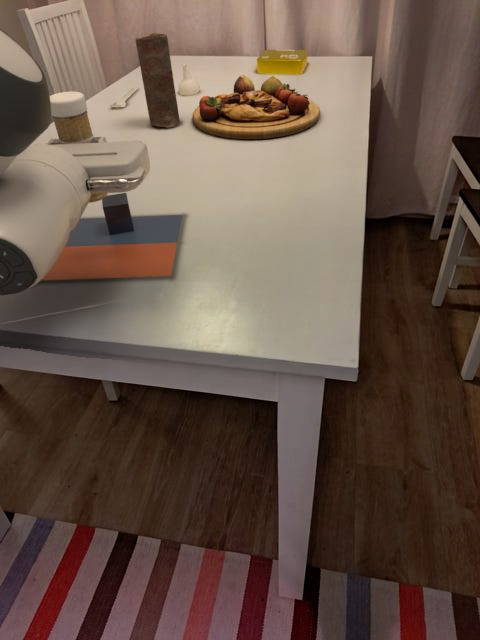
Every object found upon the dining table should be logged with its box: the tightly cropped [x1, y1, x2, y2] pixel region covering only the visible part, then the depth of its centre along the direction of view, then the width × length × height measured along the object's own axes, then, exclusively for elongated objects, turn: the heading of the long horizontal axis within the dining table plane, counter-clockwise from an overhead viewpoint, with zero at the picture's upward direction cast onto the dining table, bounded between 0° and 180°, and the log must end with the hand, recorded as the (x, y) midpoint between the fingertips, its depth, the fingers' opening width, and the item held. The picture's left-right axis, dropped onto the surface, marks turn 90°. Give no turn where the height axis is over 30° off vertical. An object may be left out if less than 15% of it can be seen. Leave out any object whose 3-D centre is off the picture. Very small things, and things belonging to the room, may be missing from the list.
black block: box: [101, 192, 134, 235], centre depth 76 cm, size 4×4×5 cm
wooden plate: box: [192, 74, 321, 140], centre depth 115 cm, size 32×32×8 cm
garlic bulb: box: [177, 63, 201, 97], centre depth 135 cm, size 6×6×8 cm
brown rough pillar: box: [135, 32, 181, 128], centre depth 110 cm, size 8×7×20 cm
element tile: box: [256, 48, 308, 75], centre depth 153 cm, size 15×15×5 cm
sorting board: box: [39, 214, 183, 282], centre depth 74 cm, size 20×18×1 cm
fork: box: [109, 87, 138, 108], centre depth 134 cm, size 3×20×2 cm, turn 173°
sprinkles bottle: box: [50, 91, 109, 204], centre depth 62 cm, size 5×5×13 cm
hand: (80, 143), depth 62 cm, fingers closed on sprinkles bottle, 4 cm apart
